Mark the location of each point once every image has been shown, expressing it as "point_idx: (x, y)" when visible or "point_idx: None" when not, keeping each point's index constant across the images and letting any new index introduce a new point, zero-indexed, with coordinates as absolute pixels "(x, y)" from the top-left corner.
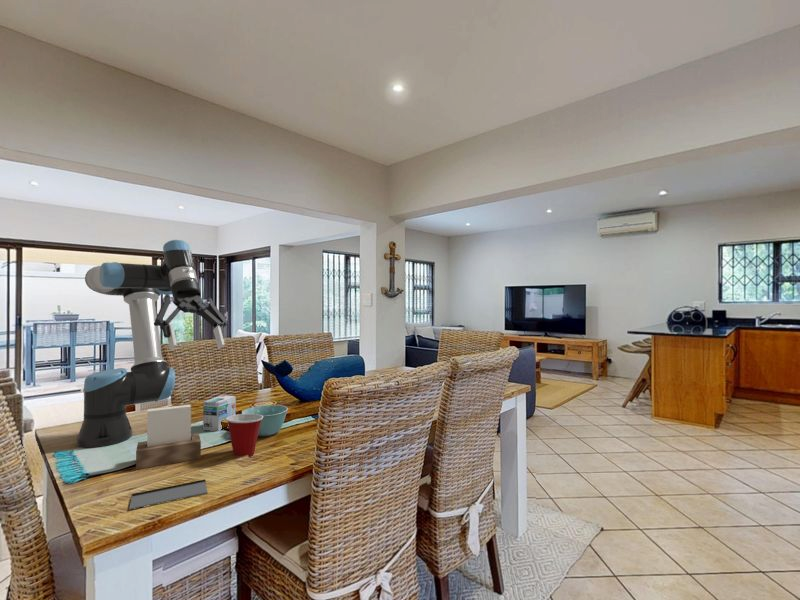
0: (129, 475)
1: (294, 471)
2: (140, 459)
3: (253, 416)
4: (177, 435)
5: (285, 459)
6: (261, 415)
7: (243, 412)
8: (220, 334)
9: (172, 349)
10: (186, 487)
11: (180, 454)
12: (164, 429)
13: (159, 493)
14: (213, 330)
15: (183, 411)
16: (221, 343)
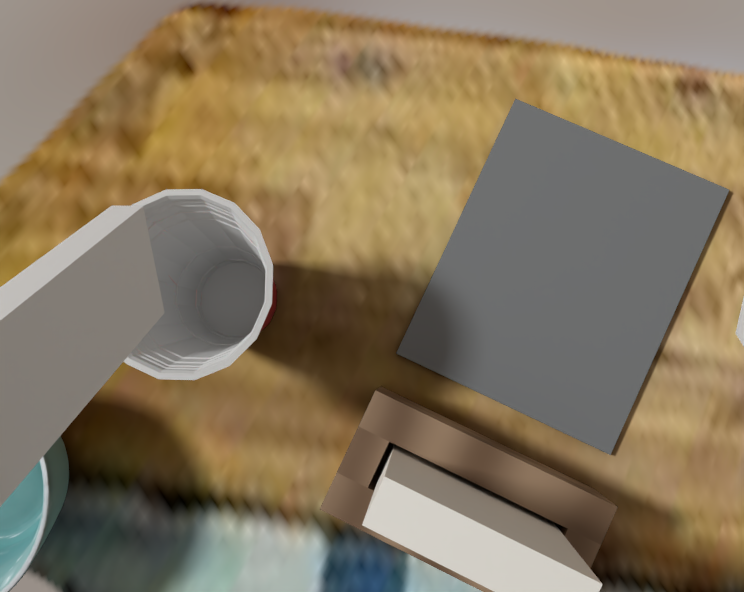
0: (617, 487)
1: (229, 9)
2: (591, 491)
3: None
4: (446, 479)
5: (172, 124)
6: None
7: (10, 579)
8: (49, 273)
9: (740, 328)
10: (542, 189)
11: (451, 423)
12: (503, 513)
13: (621, 219)
14: (6, 496)
15: (422, 490)
16: (135, 224)
